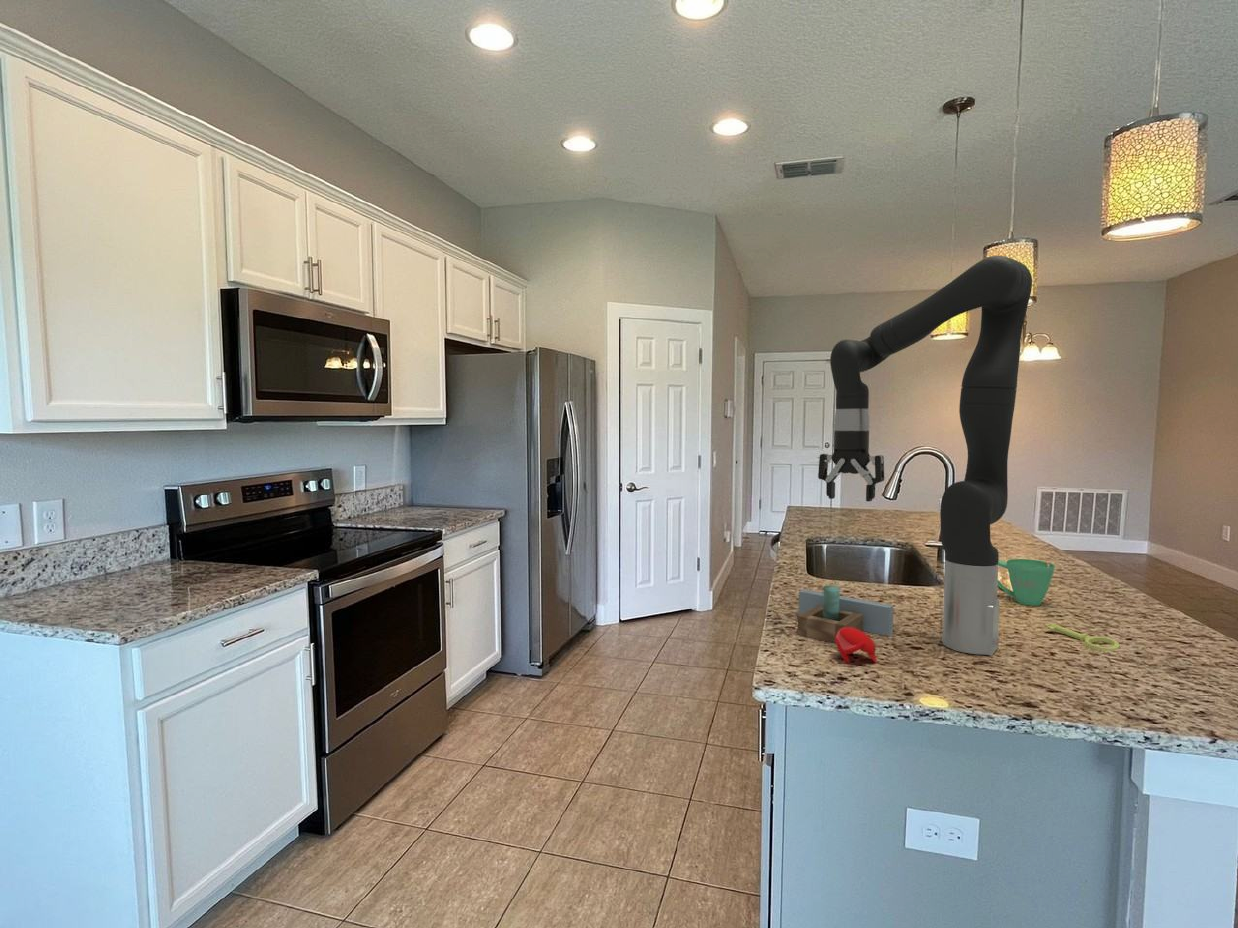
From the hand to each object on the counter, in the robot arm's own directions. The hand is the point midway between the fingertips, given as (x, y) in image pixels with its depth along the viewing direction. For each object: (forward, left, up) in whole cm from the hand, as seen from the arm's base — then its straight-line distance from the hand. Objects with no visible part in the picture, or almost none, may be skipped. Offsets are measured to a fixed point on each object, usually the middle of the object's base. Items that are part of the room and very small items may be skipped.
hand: (849, 499), depth 142 cm
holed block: (-2, +15, -27) cm, 31 cm away
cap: (-11, +26, -27) cm, 39 cm away
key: (-43, -14, -28) cm, 53 cm away
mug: (-28, -39, -27) cm, 55 cm away
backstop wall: (-2, +8, -27) cm, 28 cm away
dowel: (-2, +15, -27) cm, 31 cm away
